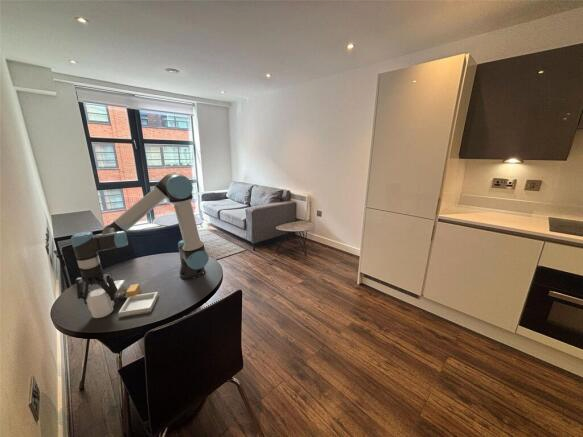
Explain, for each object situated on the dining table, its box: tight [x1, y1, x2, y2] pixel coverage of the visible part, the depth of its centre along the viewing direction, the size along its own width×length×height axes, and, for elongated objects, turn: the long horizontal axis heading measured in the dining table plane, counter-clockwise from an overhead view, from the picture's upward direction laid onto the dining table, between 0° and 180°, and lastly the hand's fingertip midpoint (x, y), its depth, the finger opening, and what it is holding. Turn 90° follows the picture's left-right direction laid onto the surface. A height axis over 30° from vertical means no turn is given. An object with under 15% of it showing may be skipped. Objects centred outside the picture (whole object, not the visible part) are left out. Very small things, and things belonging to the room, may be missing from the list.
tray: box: [117, 291, 159, 318], centre depth 118 cm, size 14×14×3 cm
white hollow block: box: [106, 279, 128, 302], centre depth 123 cm, size 10×10×8 cm
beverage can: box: [87, 287, 114, 319], centre depth 112 cm, size 8×8×12 cm
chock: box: [126, 283, 142, 299], centre depth 127 cm, size 4×7×5 cm, turn 15°
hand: (102, 307), depth 112 cm, fingers closed on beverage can, 8 cm apart
